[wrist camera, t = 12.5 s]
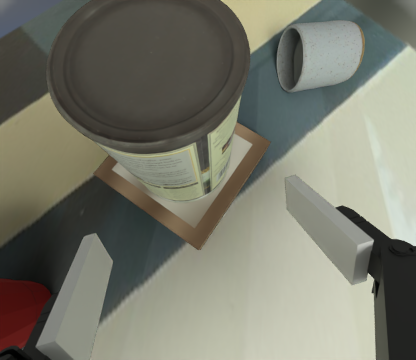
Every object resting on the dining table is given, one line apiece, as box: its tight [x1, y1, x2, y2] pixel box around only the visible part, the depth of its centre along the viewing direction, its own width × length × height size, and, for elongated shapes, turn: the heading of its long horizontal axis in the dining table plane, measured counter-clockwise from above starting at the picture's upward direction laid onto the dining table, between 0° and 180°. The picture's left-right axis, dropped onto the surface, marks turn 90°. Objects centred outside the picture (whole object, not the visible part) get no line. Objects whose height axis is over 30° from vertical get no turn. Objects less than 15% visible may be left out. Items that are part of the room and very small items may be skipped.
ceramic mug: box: [277, 20, 365, 92], centre depth 30 cm, size 11×8×8 cm
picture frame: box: [93, 122, 270, 250], centre depth 27 cm, size 14×14×4 cm
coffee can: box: [46, 0, 250, 203], centre depth 18 cm, size 10×10×14 cm
